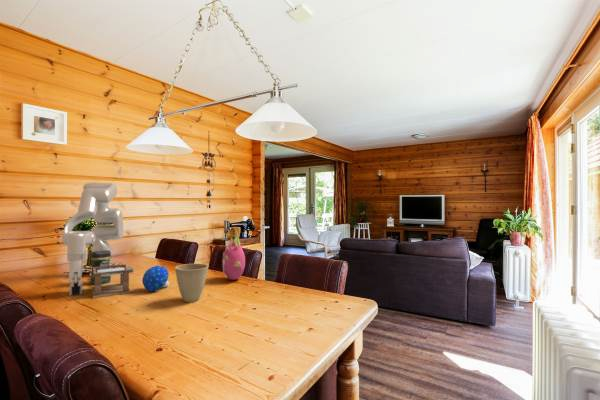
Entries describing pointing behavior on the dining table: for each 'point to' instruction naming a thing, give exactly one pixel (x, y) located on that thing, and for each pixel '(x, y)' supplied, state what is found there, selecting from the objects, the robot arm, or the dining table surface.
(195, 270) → the plant pot
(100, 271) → the trapdoor
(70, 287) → the light grey cube
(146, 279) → the blue green-spotted dome
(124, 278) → the frame
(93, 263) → the coffee jar
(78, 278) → the robot arm
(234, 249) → the pink dragon fruit
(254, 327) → the dining table surface
